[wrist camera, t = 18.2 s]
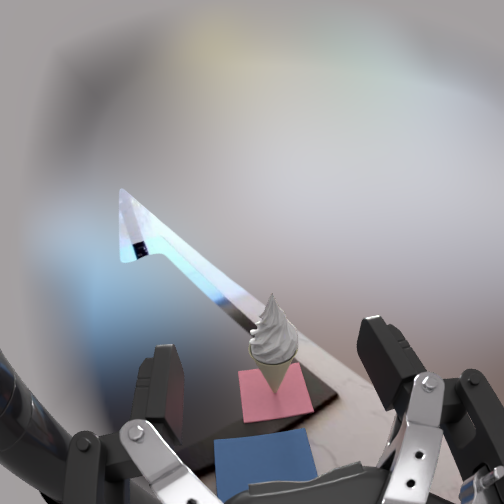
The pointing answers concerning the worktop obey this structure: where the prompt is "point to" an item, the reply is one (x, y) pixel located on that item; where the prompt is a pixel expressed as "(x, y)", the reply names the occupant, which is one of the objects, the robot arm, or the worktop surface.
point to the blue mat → (262, 461)
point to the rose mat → (273, 396)
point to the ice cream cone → (273, 344)
